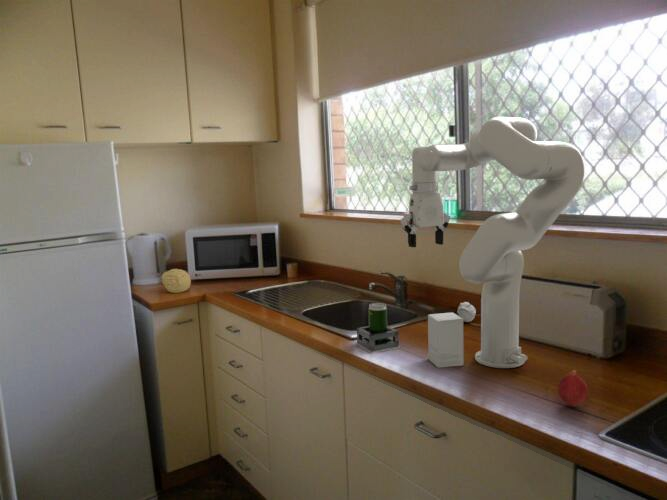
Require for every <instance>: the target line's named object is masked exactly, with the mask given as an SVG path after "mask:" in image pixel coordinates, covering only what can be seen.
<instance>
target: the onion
mask: <svg viewBox="0 0 667 500" xmlns="http://www.w3.org/2000/svg"><path fill="white" fill-rule="evenodd" d="M577 373H578V372H577V370H572V371H570V372H569V373H567V374H565V375H564V376H563V377H561V379H559V382H558V384H557V393H558V396H559V397H560V399H561V400H562V401H563V402H564V403H566V404H567V405H568V406H569V407H572V408H574V407H577V406H578V405H580V404H582V403H583V402H585V401H586V399H587V397H588V396H589V395H588V394H589V390H588V386H587V385H588V384H587V383H586V382H585V381H584V379H583V378H582V377H580V376H579V375H577Z"/></svg>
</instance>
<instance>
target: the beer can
mask: <svg viewBox="0 0 667 500" xmlns="http://www.w3.org/2000/svg"><path fill="white" fill-rule="evenodd" d="M368 306H369V307H368V326H369V332H370V333H372V334H376V333H382V332H387V326H388V307H387V304H386V303H383V302H373V303H370V304H369V305H368ZM384 342H387V338H383V339H377V340H375V344H379V343H384Z"/></svg>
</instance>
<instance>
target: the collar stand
mask: <svg viewBox="0 0 667 500" xmlns="http://www.w3.org/2000/svg"><path fill="white" fill-rule="evenodd" d="M399 334H400V333H399V330H398V329H395V328H393V327H391V326H389V325H387V332H382V333H376V334H372V333H370V332H369V325H367V326H360V327H357V328H356V342H355V345H357V346H358V347H360V348H362V349H364V350H365V351H367V352H369V353H370V354H373V353H375V354H376V353H381V352H385V351H391V350H396V349H400V348H401V346H400V345H399ZM383 338H387V342H384V343H379V344H375V340H377V339H383Z"/></svg>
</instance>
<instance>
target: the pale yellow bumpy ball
mask: <svg viewBox="0 0 667 500" xmlns="http://www.w3.org/2000/svg"><path fill="white" fill-rule="evenodd" d="M161 282H162V284H163V285H164V287H165V289H166V290H167V291H168V292H169V293H172V294H179V293H183V292H186V291H188V290H189V289H190V287H191V283H192V280H191V276H190V274H189V273H188V272H187V270H183V269H179V268H172V269H169V270H167V271H165V272H163V274H162V275H161Z"/></svg>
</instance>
